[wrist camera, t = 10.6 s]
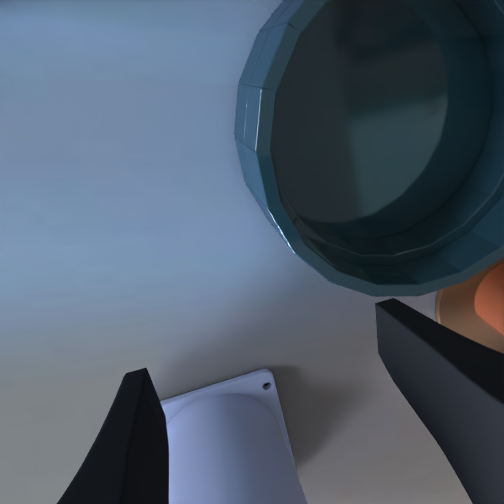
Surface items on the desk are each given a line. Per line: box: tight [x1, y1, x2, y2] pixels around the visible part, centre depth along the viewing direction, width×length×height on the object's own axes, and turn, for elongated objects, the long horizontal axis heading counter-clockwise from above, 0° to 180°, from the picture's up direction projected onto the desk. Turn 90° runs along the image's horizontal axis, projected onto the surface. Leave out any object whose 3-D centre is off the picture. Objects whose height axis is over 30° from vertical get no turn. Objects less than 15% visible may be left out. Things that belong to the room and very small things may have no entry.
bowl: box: [234, 0, 504, 296], centre depth 20 cm, size 14×14×5 cm
